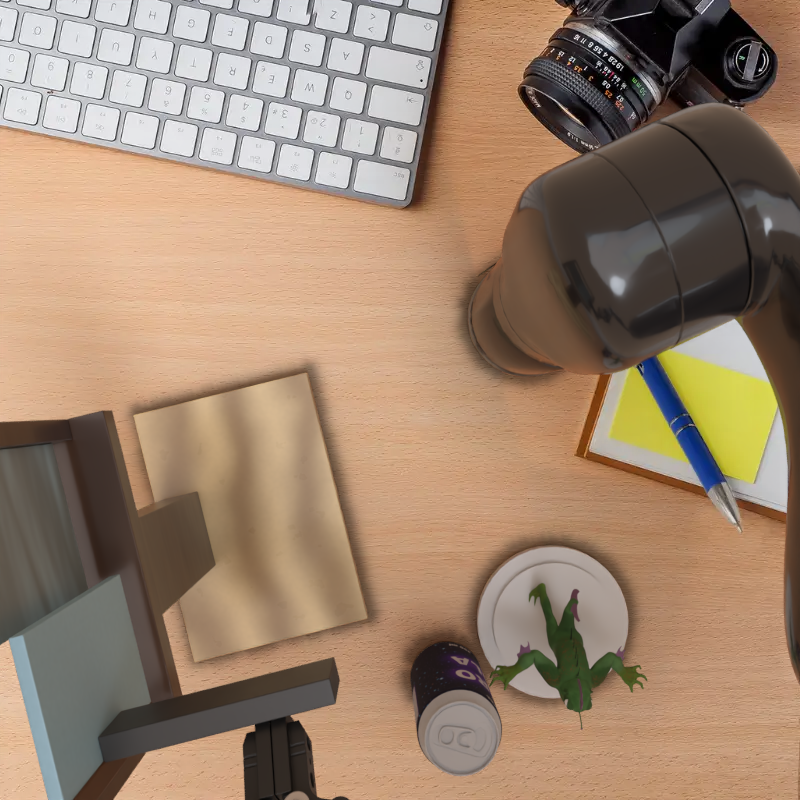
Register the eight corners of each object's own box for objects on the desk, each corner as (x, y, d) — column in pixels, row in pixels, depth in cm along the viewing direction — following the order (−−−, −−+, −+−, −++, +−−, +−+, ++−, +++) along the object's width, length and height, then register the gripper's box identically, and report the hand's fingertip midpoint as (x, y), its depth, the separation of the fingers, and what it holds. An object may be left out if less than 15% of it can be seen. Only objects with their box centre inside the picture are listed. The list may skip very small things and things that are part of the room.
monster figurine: (475, 694, 62) (493, 751, 52) (477, 544, 62) (494, 572, 52) (624, 694, 62) (671, 752, 52) (625, 545, 62) (672, 573, 52)
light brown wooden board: (308, 372, 62) (306, 372, 61) (368, 614, 62) (367, 619, 61) (137, 414, 62) (132, 415, 60) (197, 658, 62) (194, 663, 60)
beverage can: (474, 712, 62) (498, 787, 50) (405, 703, 62) (412, 776, 50) (484, 642, 62) (511, 701, 50) (415, 633, 62) (424, 689, 50)
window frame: (184, 408, 61) (-73, 412, 27) (242, 644, 60) (59, 945, 27) (134, 421, 60) (-186, 440, 27) (192, 656, 60) (-55, 975, 27)
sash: (312, 525, 41) (286, 568, 30) (348, 670, 41) (334, 765, 30) (106, 577, 41) (5, 639, 30) (142, 722, 41) (54, 838, 30)
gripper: (151, 1311, 26) (167, 782, 38) (529, 1210, 26) (425, 716, 39) (44, 1350, 21) (102, 722, 33) (518, 1223, 21) (401, 646, 33)
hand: (276, 720), depth 36 cm, fingers closed
